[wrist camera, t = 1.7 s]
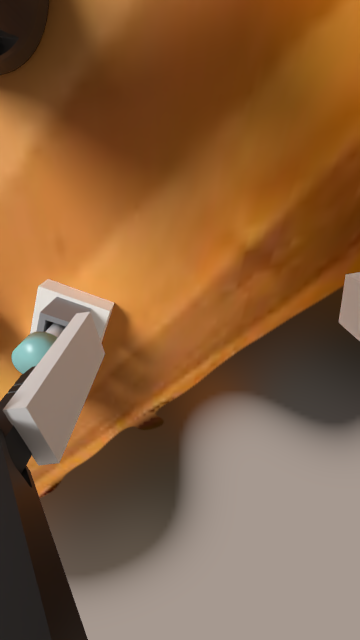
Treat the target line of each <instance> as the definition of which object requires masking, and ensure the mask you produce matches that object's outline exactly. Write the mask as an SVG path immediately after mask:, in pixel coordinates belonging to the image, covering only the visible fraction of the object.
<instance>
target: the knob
mask: <svg viewBox="0 0 360 640" xmlns="http://www.w3.org/2000/svg"><path fill="white" fill-rule="evenodd" d="M65 328H66V327H65V326H62V325H59V324H56V323H53V324H52V325H51V326H50V327H49V328H48V329H47V330H46V332H34V333H31V334H30V335H28V336H27V337H26V338H25V339H24V340H23V341H22V342H21V343H20V344H19V345H18V346H17V347H16V348H15V349H14V351H13V353H12V362H13V364H14V366H15V368H16V369H17V370H18V371H19V372H21V373H22V374H24V373H25V372H26V371H27V370H29V369H30V368H31V367H34V366H37V364H38V363H39V362H40V360H41V359H42V358H43V356H44V355H45V354H46V353H47V351H48V350H49V349H50V347H51V346H52V345H53V343H54V342H55V341H56V339H57V338H58V337H59V336H60V334H61V333H62V332H63V330H64V329H65Z"/></svg>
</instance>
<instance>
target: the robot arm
mask: <svg viewBox="0 0 360 640" xmlns="http://www.w3.org/2000/svg"><path fill="white" fill-rule="evenodd" d="M48 4H49V0H0V74H5V73H8V72H11V71H13V70H15V69H17V68H18V67H20V66H21V65H22V64H24V63H25V62H26V61H27V60H28V59H29V58H30V57H31V55H32V54H33V53H34V51H35V49H36V48H37V46H38V44H39V42H40V40H41V37H42V35H43V32H44V28H45V24H46V20H47V14H48ZM339 323H340V324H341V325H342V326H343V327H344V328H345V329H346V330H348V331H349V332H350V333H351V334H352V335H353V336H354V337H356V338H357V339H358V340H359V341H360V272H358V273H352V274H346V276H345V283H344V289H343V296H342V303H341V310H340V316H339ZM104 355H105V352H104V349H103V346H102V343H101V340H100V338H99V335H98V332H97V329H96V326H95V323H94V321H93V318H92V315H91V312H83V313H76V315H75V316H74V317H73V319H72V320H71V321H70V322H69V324H68V325H67V326H66V328H65V329H64V330H63V332H62V333H61V334H60V336H59V337H58V338H57V339H56V341H55V342H54V343H53V345H52V346H51V347H50V349H49V350H48V351H47V353H46V354H45V355H44V356H43V358H42V359H41V360H40V362H39V363H38V364H37V366H34V367H31V368H30V369H29V370H27V371H26V372H25V373H24V374H22V375H21V376H20V378H19V379H18V380H17V381H16V383H15V384H14V386H12V388H11V389H10V390H9V391H8V393H7V394H6V395H5V396H4V398H3V399H2V400H1V401H0V640H88V639H87V636H86V633H85V630H84V627H83V624H82V621H81V619H80V615H79V613H78V610H77V607H76V604H75V601H74V598H73V595H72V592H71V589H70V587H69V584H68V581H67V578H66V575H65V572H64V569H63V566H62V563H61V560H60V557H59V554H58V551H57V549H56V545H55V543H54V540H53V537H52V534H51V531H50V529H49V525H48V522H47V519H46V516H45V513H44V511H43V507H42V505H41V502H40V499H39V496H38V493H37V490H36V487H35V484H34V481H33V478H32V475H31V472H30V470H29V469H28V467H27V466H26V465H27V463H28V461H29V459H30V457H31V455H32V456H33V458H34V459H35V461H36V462H37V464H38V465H46V464H55V463H59V462H60V460H61V458H62V455H63V453H64V450H65V448H66V446H67V443H68V441H69V439H70V436H71V434H72V431H73V429H74V427H75V424H76V422H77V420H78V417H79V415H80V412H81V410H82V408H83V405H84V403H85V401H86V398H87V396H88V393H89V391H90V389H91V386H92V384H93V382H94V379H95V377H96V374H97V372H98V370H99V367H100V365H101V363H102V360H103V358H104Z"/></svg>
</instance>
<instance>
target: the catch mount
mask: <svg viewBox="0 0 360 640" xmlns="http://www.w3.org/2000/svg"><path fill="white" fill-rule="evenodd" d="M113 306H114V302H111V301H109V300H106V299H103V298H100V297H97V296H95V295H92V294H89V293H86V292H83V291H81V290H78V289H75V288H72V287H69V286H67V285H64V284H61V283H58V282H56V281H53V280H50V279H47V280H46V281H45V282H43V283H42V284H40V285H39V286H38V291H37V297H36V303H35V309H34V314H33V320H32V326H31V332H30V334H31V333H34V332H46V330H47V329H48V328H49V327H50V326H51V325H52V324H53V323H56V324H59V325H62V326H65V327H66V326H67V325H68V324H69V322H70V321H71V320H72V319H73V317H74V316H75V315H76V313H83V312H91V315H92V318H93V321H94V323H95V326H96V329H97V332H98V335H99V338H100V340H101V343H102V340H103V337H104V334H105V331H106V328H107V325H108V322H109V319H110V315H111V312H112V309H113Z"/></svg>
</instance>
